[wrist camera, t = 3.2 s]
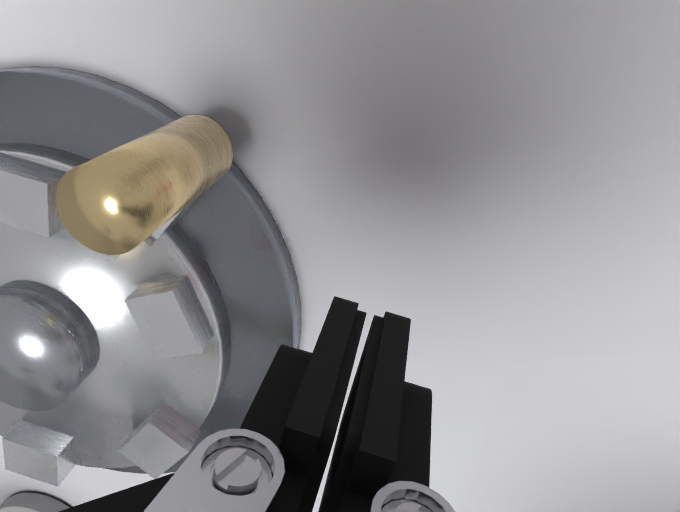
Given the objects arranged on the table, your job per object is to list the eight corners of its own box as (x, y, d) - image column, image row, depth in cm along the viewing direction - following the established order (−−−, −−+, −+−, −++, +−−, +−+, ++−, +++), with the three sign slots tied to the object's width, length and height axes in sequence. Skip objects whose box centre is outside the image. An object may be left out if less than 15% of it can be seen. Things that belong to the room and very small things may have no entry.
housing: (-142, 8, 21) (-182, 9, 20) (347, 146, 20) (339, 157, 18) (-72, 386, 30) (-97, 404, 29) (263, 495, 29) (253, 520, 28)
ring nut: (119, 486, 28) (38, 605, 23) (-132, 297, 25) (-293, 380, 20) (377, 270, 20) (347, 377, 14) (42, -47, 17) (-152, -64, 12)
